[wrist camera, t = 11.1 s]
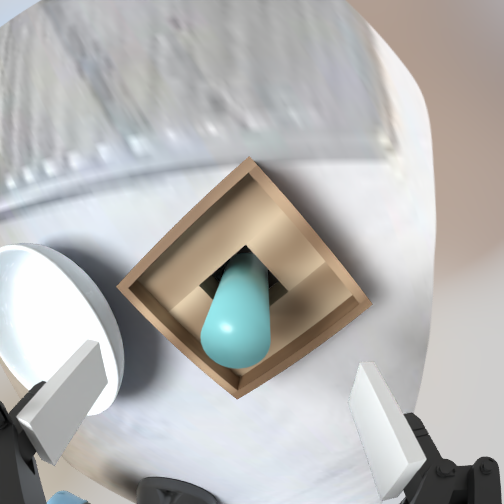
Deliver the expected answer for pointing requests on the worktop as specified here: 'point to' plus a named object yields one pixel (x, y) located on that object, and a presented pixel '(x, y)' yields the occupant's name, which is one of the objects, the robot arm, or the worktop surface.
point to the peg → (239, 315)
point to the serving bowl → (53, 318)
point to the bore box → (269, 253)
